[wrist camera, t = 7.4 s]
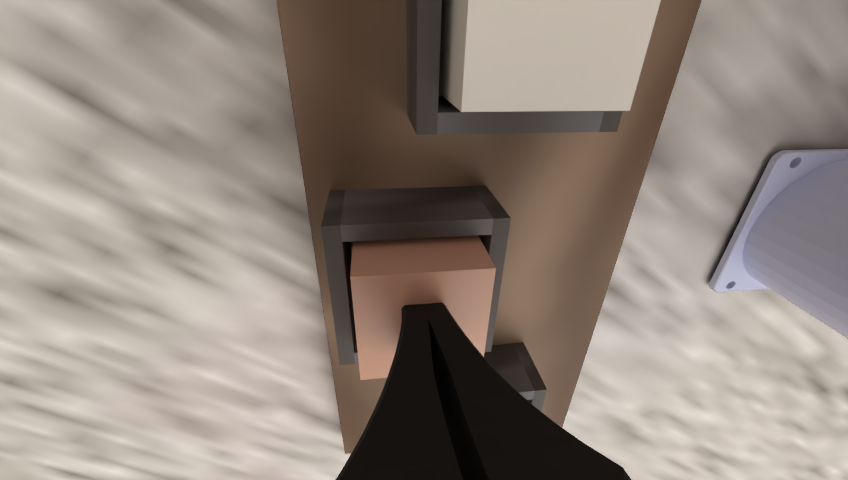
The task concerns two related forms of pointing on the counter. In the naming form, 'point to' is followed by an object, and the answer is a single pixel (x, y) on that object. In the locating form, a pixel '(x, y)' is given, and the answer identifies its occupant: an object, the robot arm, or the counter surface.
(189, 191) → the counter surface
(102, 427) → the counter surface
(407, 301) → the salmon pink cube
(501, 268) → the brown socket board
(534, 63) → the cream cube
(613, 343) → the counter surface
